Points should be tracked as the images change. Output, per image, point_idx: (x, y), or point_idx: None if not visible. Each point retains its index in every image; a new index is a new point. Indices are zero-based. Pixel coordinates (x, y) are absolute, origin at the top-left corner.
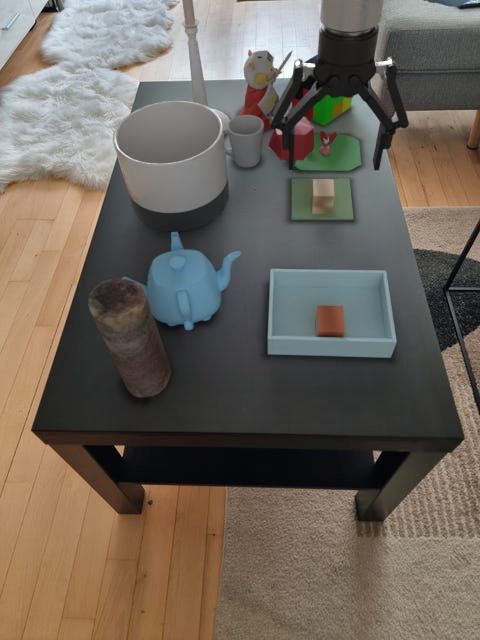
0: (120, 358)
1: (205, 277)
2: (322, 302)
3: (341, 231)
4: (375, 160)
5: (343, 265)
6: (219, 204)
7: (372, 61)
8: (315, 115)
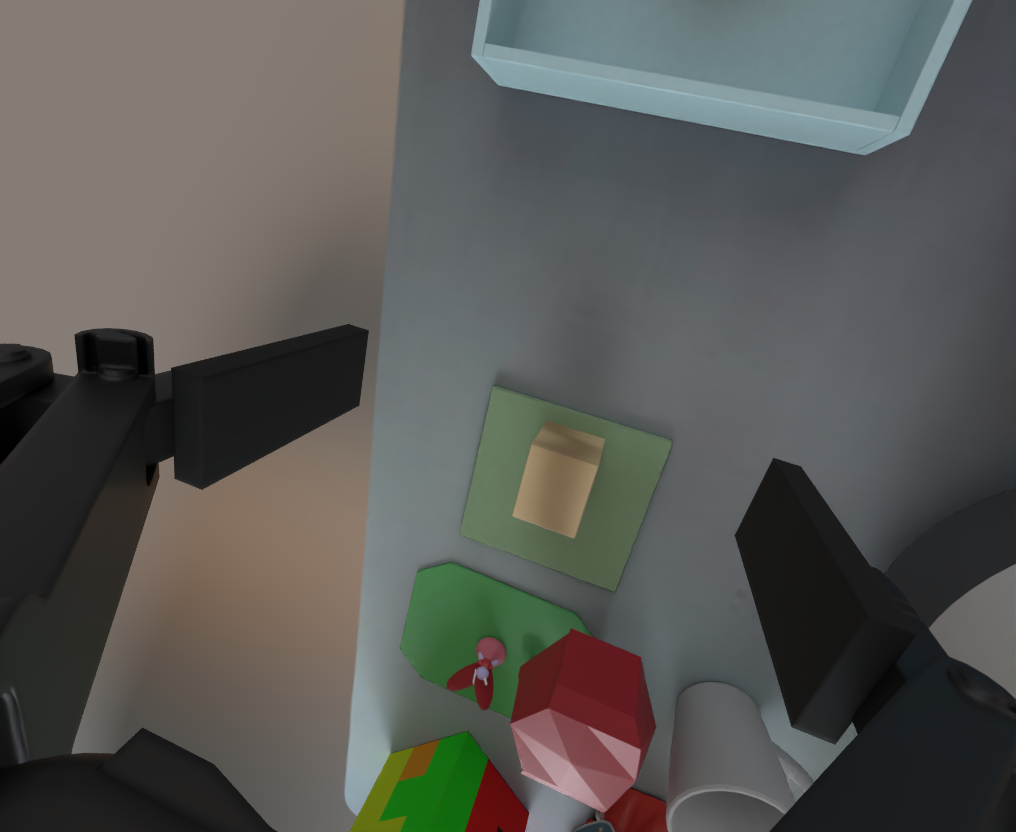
0: None
1: None
2: (710, 27)
3: (540, 350)
4: (340, 352)
5: (579, 206)
6: (982, 536)
7: None
8: (479, 769)
